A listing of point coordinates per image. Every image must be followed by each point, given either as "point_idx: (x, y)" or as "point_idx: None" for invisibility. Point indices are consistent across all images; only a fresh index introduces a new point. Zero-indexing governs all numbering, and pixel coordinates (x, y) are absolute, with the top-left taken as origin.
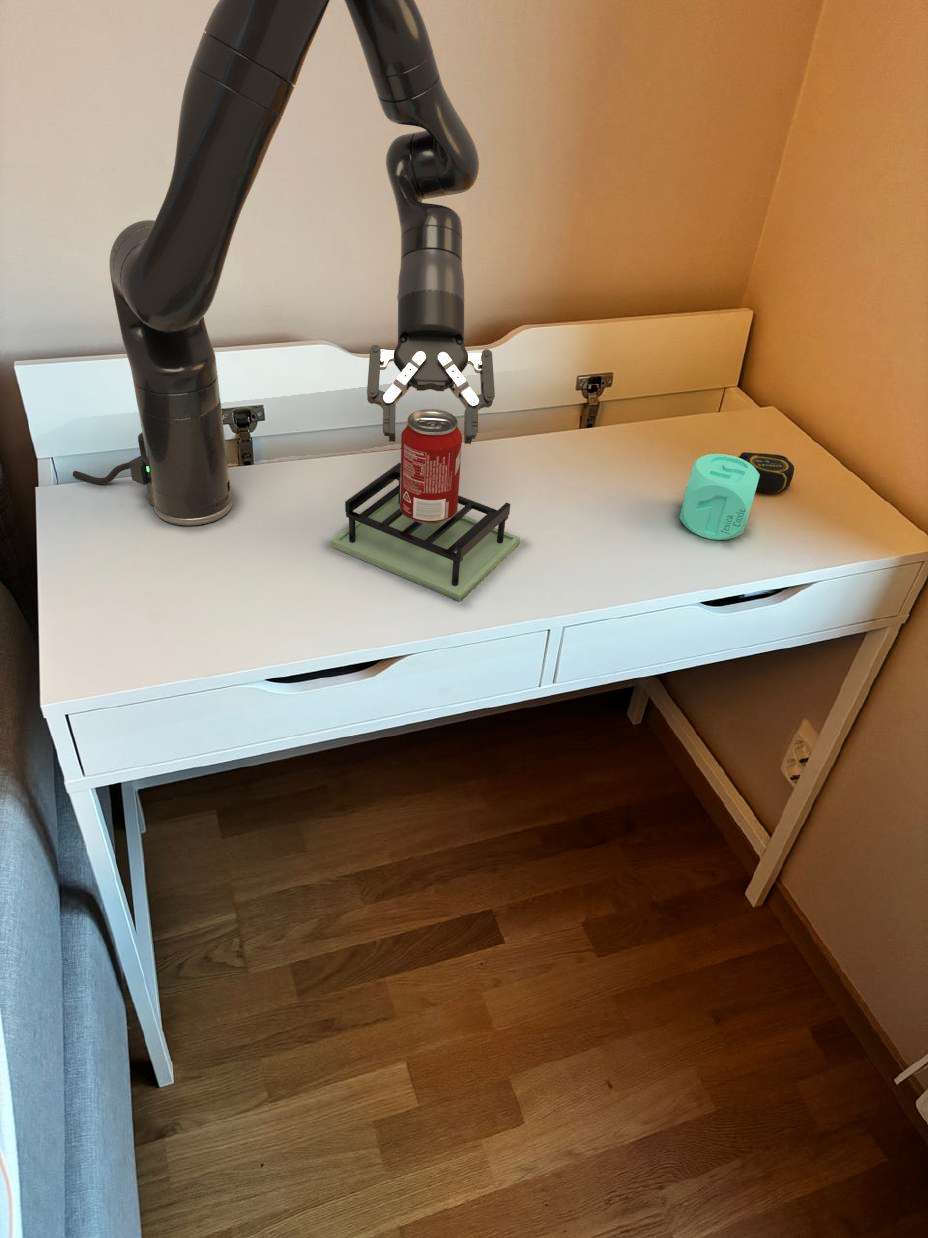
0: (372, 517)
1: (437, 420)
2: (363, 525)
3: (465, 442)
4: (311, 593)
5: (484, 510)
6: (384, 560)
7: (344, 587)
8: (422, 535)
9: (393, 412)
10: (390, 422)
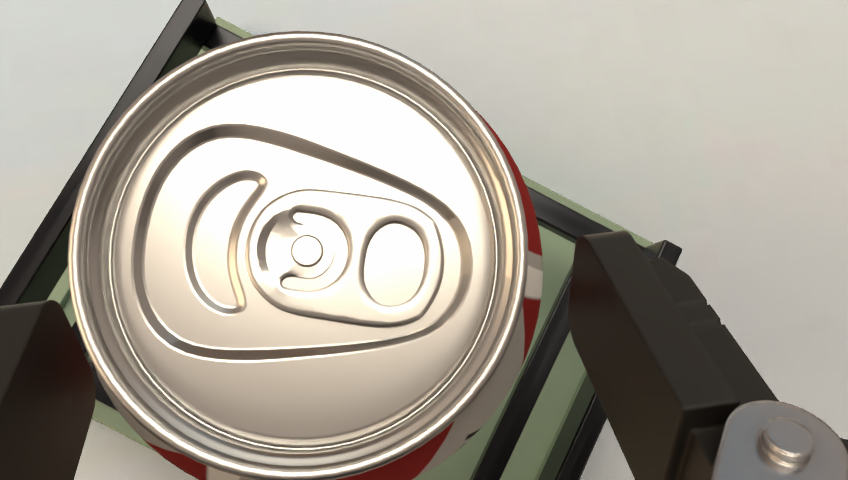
0: (553, 425)
1: (268, 341)
2: (575, 368)
3: (77, 348)
4: (654, 22)
5: None
6: None
7: (569, 59)
8: None
9: (667, 351)
10: (654, 284)
